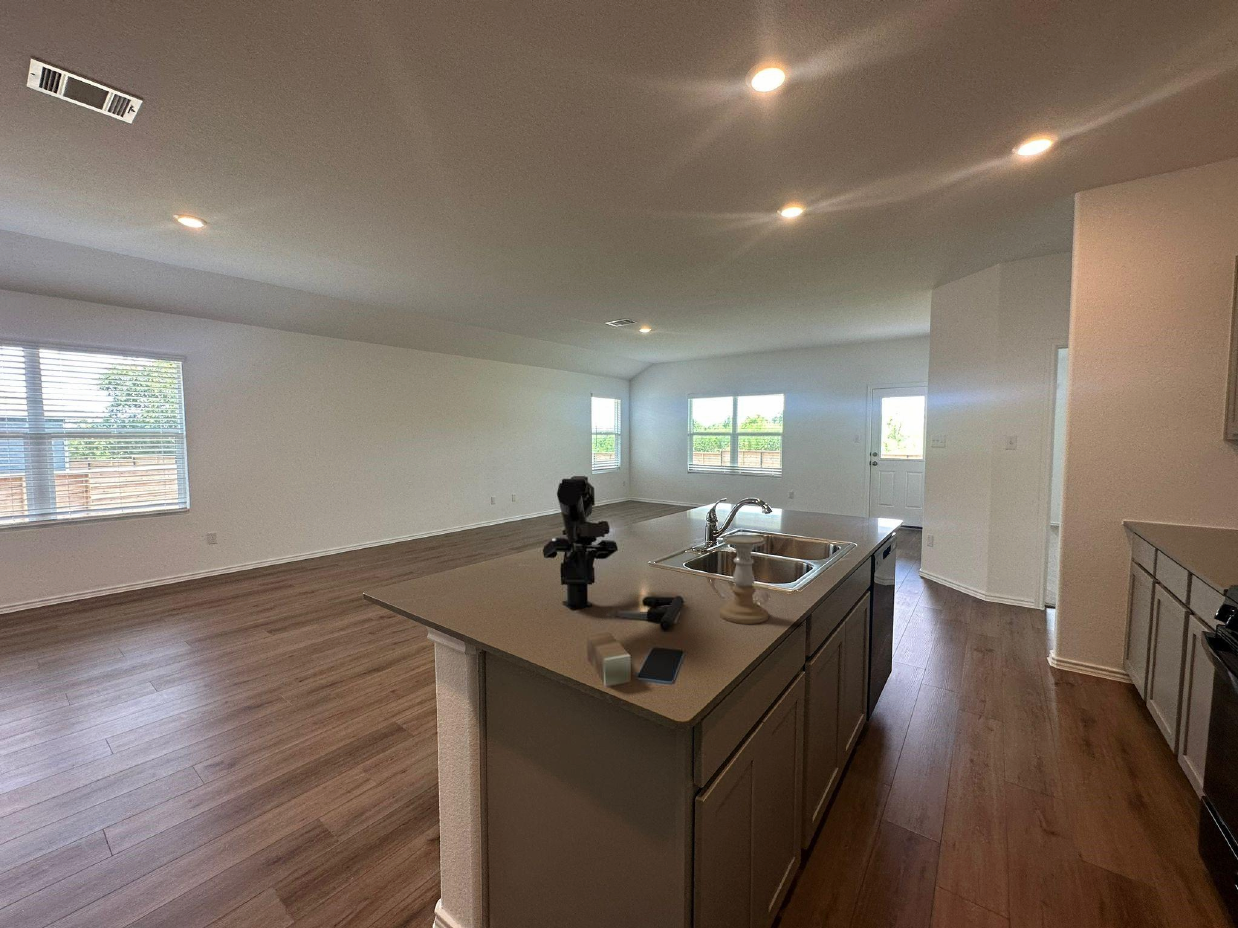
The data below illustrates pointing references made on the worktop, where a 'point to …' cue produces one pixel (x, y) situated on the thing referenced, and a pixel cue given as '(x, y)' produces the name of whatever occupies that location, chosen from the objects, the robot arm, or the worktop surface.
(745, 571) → the candle holder
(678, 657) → the smartphone
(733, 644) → the worktop surface
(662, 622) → the door handle
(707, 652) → the worktop surface
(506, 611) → the worktop surface
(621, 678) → the beige wooden block
